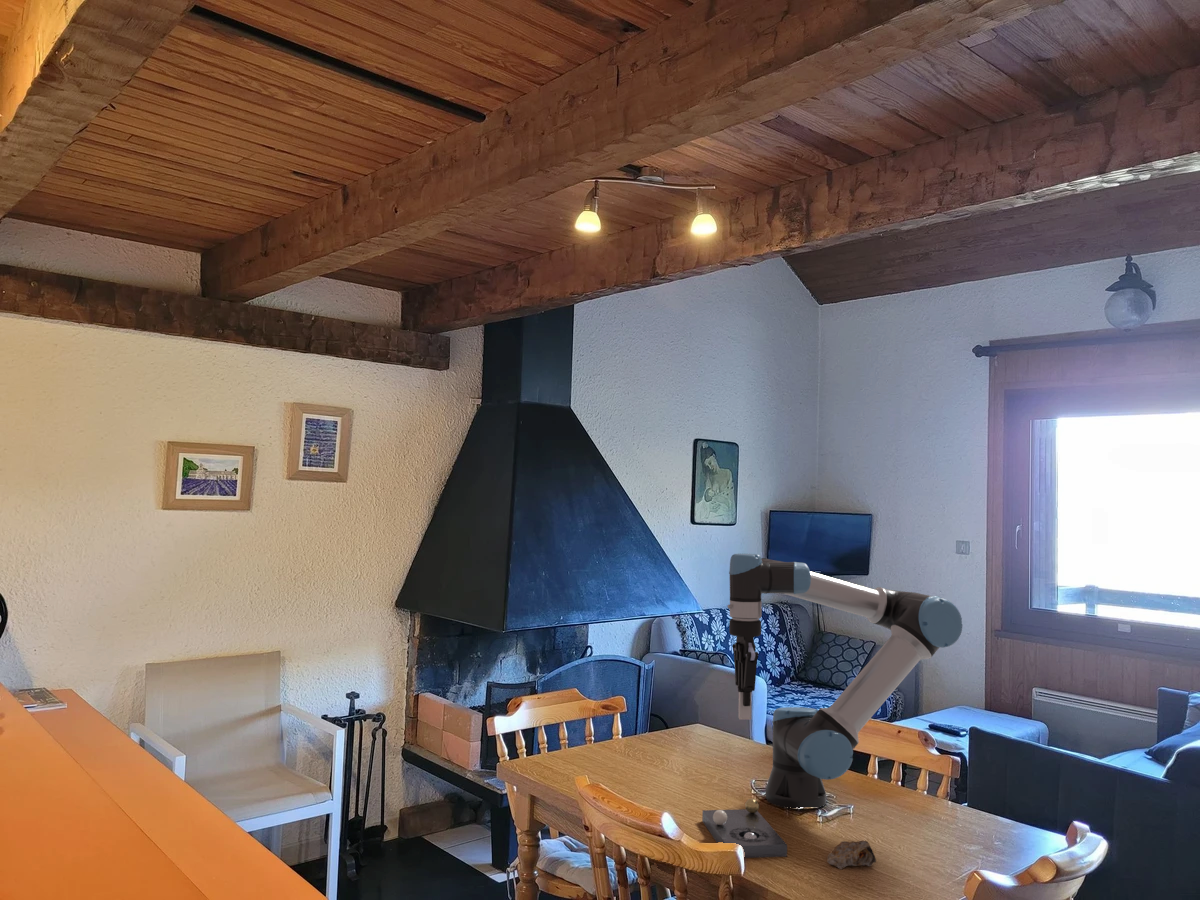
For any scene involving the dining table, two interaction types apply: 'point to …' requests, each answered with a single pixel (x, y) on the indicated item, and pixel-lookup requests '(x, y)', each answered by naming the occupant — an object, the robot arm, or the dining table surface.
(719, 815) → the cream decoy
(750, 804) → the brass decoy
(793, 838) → the dining table surface
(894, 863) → the dining table surface
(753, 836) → the steel ball
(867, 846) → the rock
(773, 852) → the plate
